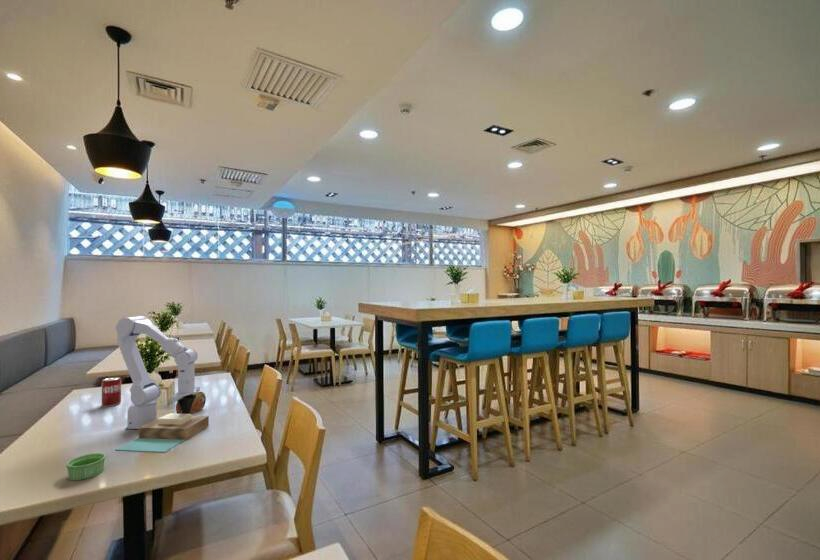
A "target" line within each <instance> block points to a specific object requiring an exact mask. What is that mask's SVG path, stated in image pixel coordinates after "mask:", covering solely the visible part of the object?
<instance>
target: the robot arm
mask: <svg viewBox="0 0 820 560" xmlns="http://www.w3.org/2000/svg"><path fill="white" fill-rule="evenodd" d="M114 327H115V330H116V332H117V335H116V336H117V337H116V343H117V345H118V348H119V350H120V353H121V355H122V358H123V360H124V363H125V366H126V368H127V371H128V374H129V376H130V378H131V381H132V384H131V386H130V389H129V392H130V401H131V403H132V404H130V406H129V407H128V410H127V421H126V422H127V426H126V427H125V429H127V430H128V429H129V430H130V429H132V430H139V427H141V426H143V425H145V424H147V423H149V422H152V421H154V420H156V419H158V414H157V413H158V399H159V397H160V396H161V394H162V388H161V386H159V384H157V383H156V380H155V379H154V378H152V377H150V375H149V373H148V371H147V368H146V366H145V363H144V361H143V358H142V355H141V352H140V350H139V347H138V345H137V343H136V341H137V339H138V338H139V336H140V335H141V334H142V335H145V336H148V337H149V338H151V339H152V340H153V341H155V342H156V343H158V344H160V345H161V350H162V351H164V352H166V354H168V355H169V356H170V357H171V358H174V362H175V364H176V365H177V392H175V393H174V394H173V395H171V398H170V399H171V402H176V403H177V402H178V403H179V405H180V407H181V410H182V414H190V411H191V407H192V404H193V402H194V400H195V398H196V395H193V394H195V393H197V392H201V387H200V386H198V385H197V386H195V382H196V381H195V377H196V375H195V371H196V370H195V369H196V367H195V365H196V363H195V362H196V361H197V359H198V353H197V351H196V350H195V349H194V348H188V346H186V345H184V344H182V343H181V342H180V341H179V339H178V338H174V337H168V336H167V335H166V334H165V333H163V331H161V330H160V329H159V328H158V327H157V326H155V325H154V324H153V323H152V321H151V320H150V319H148V318H147V317H146V316H144V315H137V316H130V317H128V316H127V317H126V316H125V317H121V318H120V319H119V320H118V321H117V323H116V324H115V326H114Z"/></svg>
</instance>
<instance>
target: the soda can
mask: <svg viewBox="0 0 820 560" xmlns="http://www.w3.org/2000/svg"><path fill="white" fill-rule="evenodd" d="M121 402H122V378H121V377H118V376H115V377H114V376H113V377H107V378H104V379H102V380H101V406H102V407H105V408H106V407H113V406H115V407H116V406H117V405H120V404H121Z"/></svg>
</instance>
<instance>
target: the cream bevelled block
mask: <svg viewBox="0 0 820 560" xmlns="http://www.w3.org/2000/svg"><path fill="white" fill-rule="evenodd" d="M164 415H165V416H164ZM164 415H162V416H163V417H162V416H160V417H161V418H160V417H158V418H159V419H158V418H157V419H158V424H175V425H181V424H183V423H185V422H187V421H189V420H191V415H192V414H177V412H175V413H173V412H172V413H171V412H170V413H167V414H164Z"/></svg>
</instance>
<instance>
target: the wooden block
mask: <svg viewBox="0 0 820 560" xmlns="http://www.w3.org/2000/svg"><path fill="white" fill-rule="evenodd" d="M165 415H166V414H164V415H162V416H160V417H157V419H156V420H154V421H152V422H149V423H147V424H145V425H143V426H141V427H139V429H138V438H154V439H181V440H185V441H186V440H189V439H190V438H191V437H194V436H195V435H196V434H198V433H199V432H201V431H203V430H205V429H206V428H207V427H209V422H210V421H209V420H210V419H209V415H194V414H191V420H189V421H187V422H185V423H183V424H181V425H175V424H158V419H159V418H161V417H163V416H165Z"/></svg>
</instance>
